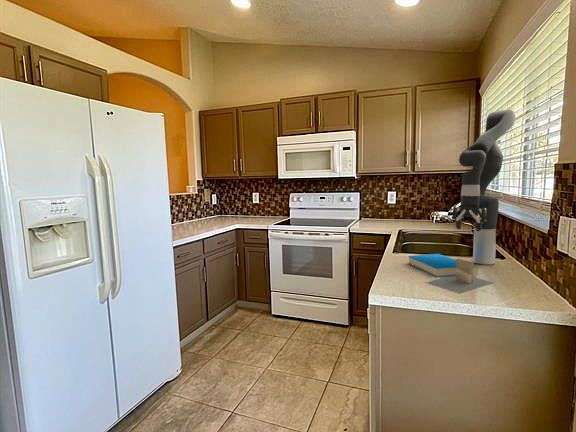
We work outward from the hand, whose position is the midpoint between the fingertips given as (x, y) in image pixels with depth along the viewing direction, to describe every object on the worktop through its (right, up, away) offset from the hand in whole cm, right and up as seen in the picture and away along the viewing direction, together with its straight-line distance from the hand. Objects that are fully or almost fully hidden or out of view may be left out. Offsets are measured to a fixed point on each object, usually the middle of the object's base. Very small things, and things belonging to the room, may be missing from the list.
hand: (468, 230), depth 151 cm
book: (-12, -18, +3) cm, 22 cm away
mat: (-14, -21, -18) cm, 31 cm away
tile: (-11, -20, -17) cm, 29 cm away
